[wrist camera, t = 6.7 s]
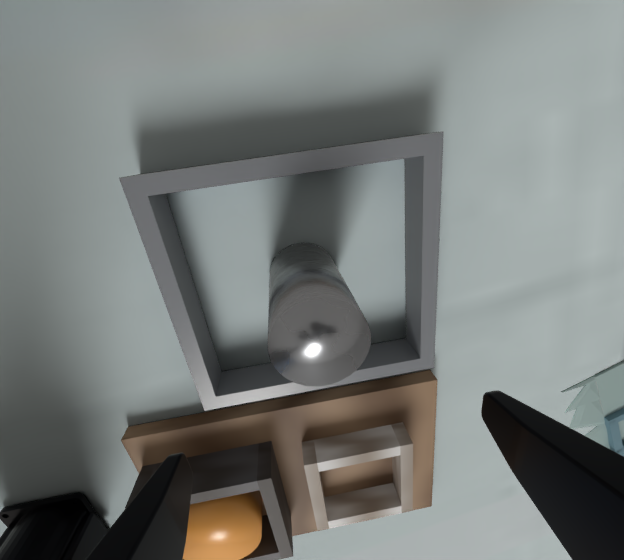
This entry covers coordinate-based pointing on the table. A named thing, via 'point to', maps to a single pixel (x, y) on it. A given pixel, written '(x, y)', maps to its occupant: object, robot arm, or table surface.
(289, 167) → the gray square frame
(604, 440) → the calendar
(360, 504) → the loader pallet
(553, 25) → the table surface
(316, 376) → the cylinder
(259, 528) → the button
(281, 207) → the table surface
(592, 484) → the robot arm
